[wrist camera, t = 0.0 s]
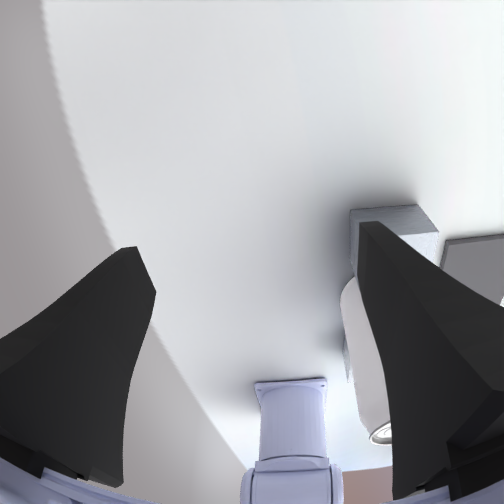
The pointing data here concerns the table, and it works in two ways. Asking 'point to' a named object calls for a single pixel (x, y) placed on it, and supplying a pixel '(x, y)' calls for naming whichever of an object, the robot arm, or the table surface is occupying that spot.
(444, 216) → the table surface
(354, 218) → the block
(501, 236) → the mat
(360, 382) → the can
